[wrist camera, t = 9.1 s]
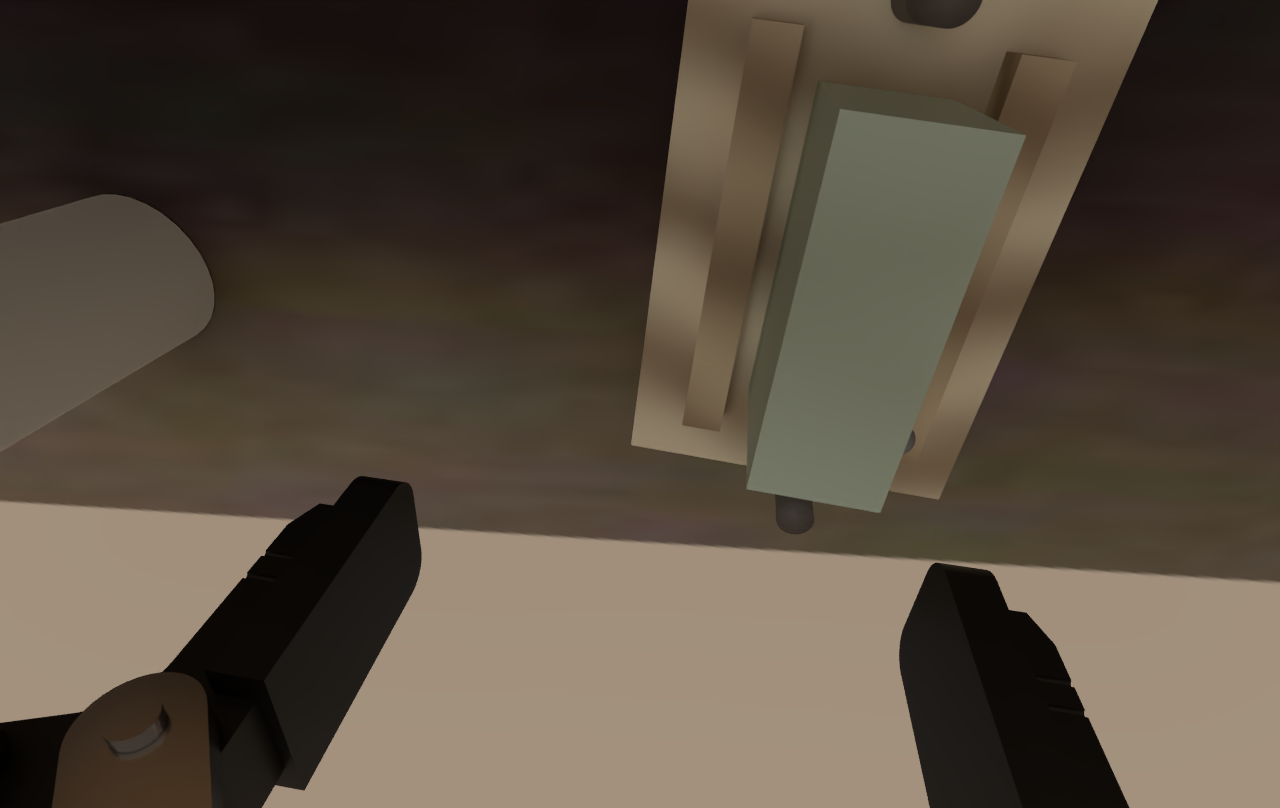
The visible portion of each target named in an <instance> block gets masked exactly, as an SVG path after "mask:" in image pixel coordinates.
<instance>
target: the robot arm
mask: <svg viewBox="0 0 1280 808" xmlns="http://www.w3.org/2000/svg"><path fill="white" fill-rule="evenodd" d="M420 567H421V545H420V538H419V531H418V524H417V517H416V510H415V503H414V496H413V490H412V488H411V486H410V484H408V483H406V482H399V481H393V480H386V479H379V478H372V477H366V476H359V477H357V478H356V479H355V480H353V481H352V483H351V484H350V485H349V486H348V488H347V489H346V490H345V491H344V493H343V494H342V495H341V496H340V498H339V499H338V500H337V502H336V503H335V504H334V505H326V504H318V505H317V506H315V507H314V508H312V509H311V510H309V511H307V512H306V513H304V514H303V515H301V516H300V517H298V518H297V519H295V520H294V521H292V522H291V523H289V524H288V525H287V526H286V527H285V528H284V529H283V531H282V532H281V533H280V534H279V536H278V537H277V538H276V539H275V540H274V541H273V543H272V544H271V545H270V546H269V547H268V549H267V550H266V554H265V556H261V557H260V558H259V559H258V560H257V562H256V563H255V564H254V565H253V566H252V567H251V569H250V570H249V571H248V572H247V577H246V578H245V579H244V578H242V579H241V581H240V582H239V583H238V584H237V585H236V587H235V588H234V589H233V590H232V591H231V593H230V594H229V595H228V596H227V597H226V598H225V600H224V601H223V602H222V603H221V604H220V606H219V607H218V608H217V609H216V610H215V611H214V613H213V614H212V615H211V616H210V617H209V619H208V620H207V621H206V622H205V623H204V625H203V626H202V627H201V628H200V629H199V631H198V632H197V633H196V634H195V635H194V636H193V638H192V639H191V640H190V641H189V642H188V644H187V645H186V646H185V647H184V648H183V649H182V651H181V652H180V653H179V655H178V656H177V657H176V658H175V659H174V660H173V661H172V662H171V663H170V665H169V666H168V667H167V668H166V669H165V670H164V671H163V672H161V673H155V674H149V675H145V676H142V677H138V678H136V679H133V680H130V681H128V682H125V683H123V684H121V685H119V686H117V687H115V688H114V689H112V690H110V691H109V692H107V693H105V694H104V695H102V696H101V697H100V698H98V699H97V700H96V701H94V702H93V703H92V704H91V705H90V706H89V707H88V708H87V709H85V710H84V711H83V712H79V713H72V714H66V715H57V716H49V717H42V718H34V719H27V720H20V721H12V722H5V723H0V808H262V806H263V805H264V803H265V801H266V800H267V798H268V796H269V794H270V793H271V791H272V789H273V787H274V786H275V785H278V786H284V787H288V788H294V789H299V790H305V788H306V786H307V785H308V783H309V781H310V779H311V777H312V775H313V774H314V772H315V770H316V768H317V766H318V764H319V763H320V761H321V759H322V757H323V755H324V753H325V752H326V750H327V748H328V746H329V744H330V743H331V741H332V738H333V737H334V735H335V733H336V731H337V730H338V728H339V726H340V724H341V722H342V721H343V719H344V717H345V715H346V713H347V711H348V710H349V708H350V706H351V704H352V702H353V700H354V699H355V697H356V695H357V693H358V691H359V689H360V687H361V686H362V684H363V682H364V680H365V678H366V677H367V675H368V673H369V671H370V669H371V667H372V666H373V664H374V662H375V660H376V658H377V656H378V655H379V653H380V651H381V649H382V647H383V645H384V644H385V642H386V640H387V638H388V636H389V635H390V633H391V631H392V629H393V627H394V625H395V624H396V621H397V620H398V618H399V616H400V614H401V613H402V611H403V609H404V607H405V605H406V604H407V602H408V600H409V598H410V596H411V594H412V592H413V590H414V588H415V586H416V583H417V580H418V576H419V572H420ZM899 661H900V670H901V676H902V681H903V685H904V690H905V695H906V699H907V704H908V708H909V713H910V718H911V722H912V727H913V732H914V736H915V741H916V745H917V750H918V754H919V759H920V764H921V769H922V773H923V778H924V782H925V787H926V792H927V796H928V801H929V806H930V808H1129V806H1128V804H1127V802H1126V800H1125V797H1124V795H1123V793H1122V791H1121V789H1120V786H1119V784H1118V782H1117V780H1116V778H1115V775H1114V773H1113V771H1112V769H1111V767H1110V765H1109V762H1108V760H1107V758H1106V756H1105V754H1104V751H1103V749H1102V747H1101V745H1100V743H1099V740H1098V738H1097V736H1096V734H1095V731H1094V729H1093V727H1092V725H1091V723H1090V721H1089V718H1087V717H1085V716H1084V710H1085V709H1084V707H1083V705H1082V703H1081V701H1080V699H1079V696H1078V695H1077V692H1076V690H1075V688H1074V687H1071V679H1070V677H1069V674H1068V672H1067V670H1066V668H1065V666H1064V663H1063V661H1062V659H1061V657H1060V655H1059V652H1058V650H1057V648H1056V646H1055V644H1054V643H1053V642H1052V641H1051V640H1050V639H1049V638H1048V636H1047V635H1046V634H1045V633H1044V632H1043V631H1042V630H1041V629H1040V627H1039V626H1038V625H1037V624H1036V623H1035V622H1034V621H1033V620H1032V618H1030V616H1029V615H1028V614H1027V613H1025V612H1018V611H1012V610H1009V609H1008V607H1007V604H1006V602H1005V599H1004V597H1003V595H1002V592H1001V590H1000V587H999V585H998V582H997V580H996V578H995V576H994V575H993V574H992V573H991V572H990V571H988V570H983V569H976V568H969V567H963V566H956V565H949V564H942V563H934V564H933V565H931V567H930V568H929V570H928V572H927V574H926V576H925V579H924V581H923V584H922V586H921V588H920V590H919V593H918V595H917V598H916V600H915V602H914V605H913V607H912V609H911V612H910V614H909V617H908V619H907V621H906V624H905V626H904V628H903V631H902V635H901V640H900V650H899Z"/></svg>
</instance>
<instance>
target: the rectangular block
mask: <svg viewBox="0 0 1280 808" xmlns="http://www.w3.org/2000/svg"><path fill="white" fill-rule="evenodd" d="M1025 137H1026V135H1024V134H1022V133H1020V132H1018V131H1016V130H1014V129H1012V128H1010V127H1008V126H1006V125H1004V124H1002V123H1000V122H998V121H996V120H994V119H992V118H990V117H988V116H986V115H984V114H982V113H980V112H978V111H976V110H974V109H972V108H970V107H968V106H966V105H964V104H962V103H960V102H958V101H956V100H952V99H945V98H938V97H931V96H924V95H916V94H909V93H902V92H895V91H888V90H881V89H873V88H866V87H859V86H852V85H845V84H837V83H830V82H823V81H818V83H817V88H816V92H815V97H814V101H813V105H812V110H811V114H810V119H809V123H808V128H807V132H806V136H805V141H804V145H803V150H802V154H801V158H800V163H799V167H798V172H797V176H796V180H795V185H794V189H793V194H792V198H791V202H790V207H789V211H788V216H787V220H786V225H785V229H784V233H783V238H782V242H781V247H780V251H779V255H778V260H777V264H776V269H775V273H774V277H773V282H772V286H771V291H770V295H769V300H768V304H767V308H766V313H765V317H764V322H763V326H762V330H761V335H760V339H759V344H758V348H757V352H756V357H755V361H754V366H753V370H752V375H751V379H750V383H749V388H748V428H747V480H746V489H749V490H754V491H760V492H766V493H771V494H777V495H782V496H788V497H793V498H799V499H804V500H810V501H816V502H821V503H827V504H832V505H838V506H843V507H849V508H854V509H860V510H866V511H871V512H877V513H880V512H881V509H882V507H883V504H884V502H885V499H886V497H887V494H888V491H889V489H890V486H891V484H892V481H893V478H894V476H895V473H896V471H897V468H898V466H899V463H900V460H901V458H902V455H903V454H906V453H908V452H909V451H910V450H911V449H912V448H913V446H914V444H915V440H916V437H915V433H914V431H913V427H914V424H915V422H916V419H917V416H918V414H919V411H920V409H921V406H922V404H923V401H924V398H925V396H926V393H927V391H928V388H929V385H930V383H931V380H932V378H933V375H934V372H935V370H936V367H937V365H938V362H939V360H940V357H941V354H942V352H943V349H944V347H945V344H946V341H947V339H948V336H949V334H950V331H951V329H952V326H953V323H954V321H955V318H956V316H957V313H958V310H959V308H960V305H961V303H962V300H963V298H964V295H965V292H966V290H967V287H968V285H969V282H970V279H971V277H972V274H973V272H974V269H975V267H976V264H977V261H978V259H979V256H980V254H981V251H982V248H983V246H984V243H985V241H986V238H987V235H988V233H989V230H990V228H991V225H992V223H993V220H994V217H995V215H996V212H997V210H998V207H999V204H1000V202H1001V199H1002V197H1003V194H1004V192H1005V189H1006V186H1007V184H1008V181H1009V179H1010V176H1011V173H1012V171H1013V168H1014V166H1015V163H1016V161H1017V158H1018V155H1019V153H1020V150H1021V148H1022V145H1023V142H1024V140H1025Z"/></svg>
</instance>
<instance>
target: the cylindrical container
mask: <svg viewBox="0 0 1280 808" xmlns="http://www.w3.org/2000/svg"><path fill="white" fill-rule="evenodd" d="M213 309H214V289H213V283H212V279H211V276H210V274H209V271H208V268H207V266H206V264H205V262H204V260H203V258H202V256H201V254H200V253H199V251H198V250H197V249H196V247H195V246H194V244H193V243H192V242H191V240H190V239H189V238H188V237H187V236H186V235H185V233H184V232H183V231H182V230H181V229H180V228H179V227H178V226H177V225H176V224H175V223H173V222H172V221H171V220H170V219H168V218H167V217H166V216H165V215H163V214H162V213H161V212H159V211H157V210H155V209H154V208H152V207H150V206H149V205H147V204H145V203H143V202H140V201H138V200H135V199H132V198H130V197H125V196H120V195H107V194H103V195H98V196H94V197H90V198H86V199H83V200H80V201H76V202H73V203H69V204H66V205H63V206H59V207H56V208H52V209H49V210H46V211H42V212H39V213H35V214H32V215H29V216H25V217H22V218H18V219H15V220H12V221H8V222H5V223H1V224H0V452H1V451H3V450H4V449H6V448H8V447H9V446H11V445H13V444H14V443H16V442H18V441H19V440H21V439H23V438H24V437H26V436H28V435H29V434H31V433H33V432H34V431H36V430H38V429H39V428H41V427H43V426H44V425H46V424H48V423H49V422H51V421H53V420H54V419H56V418H58V417H59V416H61V415H63V414H64V413H66V412H68V411H69V410H71V409H73V408H75V407H76V406H78V405H80V404H81V403H83V402H85V401H86V400H88V399H90V398H91V397H93V396H95V395H96V394H98V393H100V392H101V391H103V390H105V389H106V388H108V387H110V386H111V385H113V384H115V383H117V382H118V381H120V380H122V379H123V378H125V377H127V376H128V375H130V374H132V373H133V372H135V371H137V370H138V369H140V368H142V367H143V366H145V365H147V364H149V363H150V362H152V361H154V360H155V359H157V358H159V357H160V356H162V355H164V354H165V353H167V352H169V351H170V350H172V349H174V348H175V347H177V346H179V345H180V344H182V343H184V342H186V341H187V340H189V339H191V338H192V337H194V336H196V335H197V334H198V333H200V332H201V331H202V330H203V329H204V328H205V327H206V326H207V324H208V322H209V321H210V319H211V317H212V313H213Z"/></svg>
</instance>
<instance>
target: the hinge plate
mask: <svg viewBox="0 0 1280 808" xmlns="http://www.w3.org/2000/svg"><path fill="white" fill-rule="evenodd" d="M1157 2H1158V0H688V7H687V14H686V22H685V30H684V38H683V46H682V53H681V61H680V69H679V77H678V84H677V92H676V100H675V108H674V116H673V123H672V131H671V139H670V147H669V154H668V162H667V170H666V178H665V186H664V193H663V201H662V209H661V217H660V224H659V232H658V240H657V248H656V255H655V263H654V271H653V279H652V287H651V294H650V302H649V310H648V318H647V325H646V333H645V341H644V349H643V357H642V364H641V372H640V380H639V388H638V395H637V403H636V411H635V419H634V427H633V434H632V442H631V445H634V446H640V447H645V448H651V449H656V450H662V451H668V452H673V453H679V454H685V455H690V456H696V457H702V458H707V459H713V460H718V461H724V462H730V463H735V464H741V465H747V428H748V388H749V383H750V379H751V375H752V370H753V366H754V361H755V357H756V352H757V348H758V344H759V339H760V335H761V330H762V326H763V322H764V317H765V313H766V308H767V304H768V300H769V295H770V291H771V286H772V282H773V277H774V273H775V269H776V264H777V260H778V255H779V251H780V247H781V242H782V238H783V233H784V229H785V225H786V220H787V216H788V211H789V207H790V202H791V198H792V194H793V189H794V185H795V180H796V176H797V172H798V167H799V163H800V158H801V154H802V150H803V145H804V141H805V136H806V132H807V128H808V123H809V119H810V114H811V110H812V105H813V101H814V97H815V92H816V88H817V83H818V81H823V82H830V83H837V84H845V85H852V86H859V87H866V88H873V89H881V90H888V91H895V92H902V93H909V94H916V95H924V96H931V97H938V98H945V99H952V100H956V101H958V102H960V103H962V104H964V105H966V106H968V107H970V108H972V109H974V110H976V111H978V112H980V113H982V114H984V115H986V116H988V117H990V118H992V119H994V120H996V121H998V122H1000V123H1002V124H1004V125H1006V126H1008V127H1010V128H1012V129H1014V130H1016V131H1018V132H1020V133H1022V134H1024V135H1026V137H1025V140H1024V142H1023V145H1022V148H1021V150H1020V153H1019V155H1018V158H1017V161H1016V163H1015V166H1014V168H1013V171H1012V173H1011V176H1010V179H1009V181H1008V184H1007V186H1006V189H1005V192H1004V194H1003V197H1002V199H1001V202H1000V204H999V207H998V210H997V212H996V215H995V217H994V220H993V223H992V225H991V228H990V230H989V233H988V235H987V238H986V241H985V243H984V246H983V248H982V251H981V254H980V256H979V259H978V261H977V264H976V267H975V269H974V272H973V274H972V277H971V279H970V282H969V285H968V287H967V290H966V292H965V295H964V298H963V300H962V303H961V305H960V308H959V310H958V313H957V316H956V318H955V321H954V323H953V326H952V329H951V331H950V334H949V336H948V339H947V341H946V344H945V347H944V349H943V352H942V354H941V357H940V360H939V362H938V365H937V367H936V370H935V372H934V375H933V378H932V380H931V383H930V385H929V388H928V391H927V393H926V396H925V398H924V401H923V404H922V406H921V409H920V411H919V414H918V416H917V419H916V422H915V424H914V427H913V431H914V433H915V437H916V440H915V444H914V446H913V448H912V449H911V450H910V451H909V452H908V453H906V454H903V455H902V458H901V460H900V463H899V466H898V468H897V471H896V473H895V476H894V478H893V481H892V484H891V486H890V489H889V491H893V492H899V493H904V494H910V495H916V496H921V497H927V498H932V499H938V500H939V498H940V496H941V493H942V491H943V489H944V486H945V484H946V482H947V480H948V477H949V475H950V473H951V470H952V468H953V466H954V464H955V461H956V459H957V457H958V455H959V452H960V450H961V448H962V445H963V443H964V441H965V439H966V436H967V434H968V432H969V430H970V427H971V425H972V423H973V420H974V418H975V416H976V414H977V411H978V409H979V407H980V404H981V402H982V400H983V398H984V395H985V393H986V391H987V389H988V386H989V384H990V382H991V379H992V377H993V375H994V373H995V370H996V368H997V366H998V363H999V361H1000V359H1001V357H1002V354H1003V352H1004V350H1005V348H1006V345H1007V343H1008V341H1009V338H1010V336H1011V334H1012V332H1013V329H1014V327H1015V325H1016V323H1017V320H1018V318H1019V316H1020V313H1021V311H1022V309H1023V307H1024V304H1025V302H1026V300H1027V297H1028V295H1029V293H1030V291H1031V288H1032V286H1033V284H1034V282H1035V279H1036V277H1037V275H1038V272H1039V270H1040V268H1041V266H1042V263H1043V261H1044V259H1045V256H1046V254H1047V252H1048V250H1049V247H1050V245H1051V243H1052V241H1053V238H1054V236H1055V234H1056V231H1057V229H1058V227H1059V225H1060V222H1061V220H1062V218H1063V216H1064V213H1065V211H1066V209H1067V206H1068V204H1069V202H1070V200H1071V197H1072V195H1073V193H1074V190H1075V188H1076V186H1077V184H1078V181H1079V179H1080V177H1081V175H1082V172H1083V170H1084V168H1085V165H1086V163H1087V161H1088V159H1089V156H1090V154H1091V152H1092V149H1093V147H1094V145H1095V143H1096V140H1097V138H1098V136H1099V134H1100V131H1101V129H1102V127H1103V124H1104V122H1105V120H1106V118H1107V115H1108V113H1109V111H1110V109H1111V106H1112V104H1113V102H1114V99H1115V97H1116V95H1117V93H1118V90H1119V88H1120V86H1121V83H1122V81H1123V79H1124V77H1125V74H1126V72H1127V70H1128V68H1129V65H1130V63H1131V61H1132V58H1133V56H1134V54H1135V52H1136V49H1137V47H1138V45H1139V43H1140V40H1141V38H1142V36H1143V33H1144V31H1145V29H1146V27H1147V24H1148V22H1149V20H1150V17H1151V15H1152V13H1153V11H1154V8H1155V6H1156V4H1157ZM775 498H776V521H777V524H778V526H779V528H780V529H781V530H783V531H784V532H787V533H790V534H801V533H804V532H806V531H808V530H809V529H810V528H811V527H812V526H813V523H814V515H813V506H812V501H810V500H804V499H799V498H793V497H788V496H782V495H777V494H775Z"/></svg>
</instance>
